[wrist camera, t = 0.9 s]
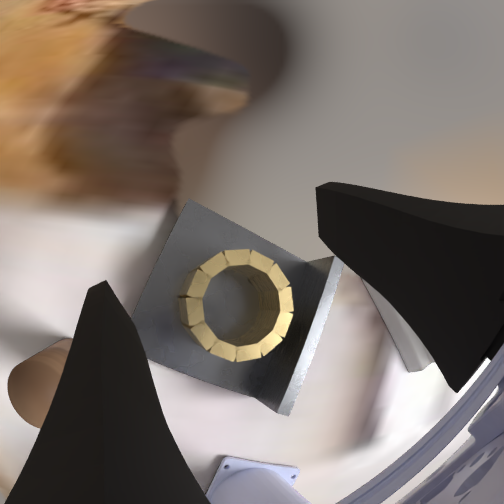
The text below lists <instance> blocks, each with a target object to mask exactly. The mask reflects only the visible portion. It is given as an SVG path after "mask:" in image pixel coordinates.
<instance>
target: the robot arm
mask: <svg viewBox="0 0 504 504" xmlns="http://www.w3.org/2000/svg"><path fill="white" fill-rule="evenodd" d="M316 201H317V216H318V230H319V231H318V233H319V237H320V239H321V240H322V241H323V242H324V243H325V244H326V245H327V247H328V248H329V249H330V250H331V251H332V252H333V253H334V254H335V255H336V256H337V257H338V258H339V259H340V260H341V261H342V262H343V263H345V264H346V265H347V266H348V267H349V268H350V269H352V270H353V271H354V272H355V273H356V274H358V275H359V276H360V277H361V278H362V279H363V280H365V281H366V282H367V283H368V284H369V285H370V286H372V287H373V288H374V289H375V290H376V291H377V292H379V293H380V294H381V295H382V296H383V297H384V298H385V299H386V300H387V301H388V302H389V303H390V304H391V305H392V306H393V307H394V309H395V310H396V311H397V312H398V313H399V314H400V315H401V316H402V318H403V319H404V320H405V321H406V322H407V324H408V325H409V326H410V327H411V329H412V330H413V331H414V332H415V334H416V335H417V336H418V338H419V339H420V340H421V342H422V343H423V345H424V346H425V347H426V349H427V350H428V352H429V353H430V355H431V356H432V358H433V359H434V361H435V362H436V364H437V366H438V367H439V369H440V371H441V372H442V374H443V376H444V378H445V380H446V381H447V383H448V385H449V387H450V388H452V389H453V390H454V391H455V392H456V393H458V392H459V391H460V390H461V388H462V387H463V386H464V385H465V384H466V383H467V382H468V380H469V379H470V378H471V377H472V376H473V374H474V373H475V372H476V371H477V370H478V368H479V367H480V366H481V365H482V363H483V362H484V361H485V359H486V358H488V359H490V360H491V362H490V363H489V365H488V366H487V367H486V368H485V370H484V371H483V372H482V374H481V375H480V376H479V377H478V379H477V380H476V381H475V382H474V383H473V385H472V386H471V387H470V388H469V389H468V391H467V392H466V393H465V394H464V395H463V396H462V397H461V399H460V400H459V401H458V402H457V403H456V404H455V405H454V406H453V407H452V408H451V410H450V411H449V412H448V413H447V414H446V415H445V416H444V417H443V418H442V419H441V420H440V421H439V422H438V423H437V424H436V425H435V426H434V427H433V428H432V429H431V430H430V431H429V432H428V433H427V434H426V435H425V436H423V437H422V438H421V439H420V440H419V441H418V442H417V443H416V444H415V445H414V446H412V447H411V448H410V449H409V450H408V451H407V452H406V453H404V454H403V455H402V456H401V457H400V458H398V459H397V460H396V461H395V462H394V463H392V464H391V465H390V466H389V467H387V468H386V469H385V470H383V471H382V472H381V473H379V474H378V475H377V476H376V477H374V478H373V479H371V480H370V481H369V482H367V483H366V484H364V485H363V486H362V487H360V488H359V489H357V490H356V491H354V492H353V493H351V494H350V495H348V496H347V497H345V498H344V499H342V500H341V501H339V502H337V503H336V504H380V503H382V502H383V501H384V500H386V499H387V498H388V497H389V496H391V495H392V494H393V493H395V492H396V491H397V490H398V489H400V488H401V487H402V486H403V485H405V484H406V483H407V482H408V481H409V480H410V479H412V478H413V477H414V476H415V475H416V474H417V473H419V472H420V471H421V470H422V469H423V468H424V467H425V466H426V465H427V464H428V463H429V462H431V461H432V460H433V459H434V458H435V457H436V456H437V455H438V454H439V453H440V452H441V451H442V450H443V449H444V448H445V447H446V446H447V445H448V444H449V443H450V442H451V441H452V440H453V438H454V437H455V436H456V435H457V434H458V433H459V432H460V431H461V430H462V429H463V428H464V426H465V425H466V424H467V423H468V422H469V421H470V419H471V418H472V417H473V416H474V415H475V414H476V412H477V411H478V410H479V409H480V407H481V406H482V405H483V404H484V402H485V401H486V400H487V398H488V397H489V396H490V395H491V393H492V392H493V390H494V389H495V388H496V386H497V385H498V387H499V391H498V392H497V394H496V395H495V396H494V397H493V398H492V399H491V400H490V401H489V402H488V403H487V404H486V405H485V406H484V407H483V408H482V410H481V411H480V412H479V413H478V414H477V416H476V417H475V418H474V420H473V421H472V423H471V424H470V426H469V427H468V432H469V433H470V434H471V436H470V438H469V439H468V440H467V441H466V442H465V443H464V444H463V445H462V446H461V447H460V448H459V449H458V450H457V451H456V452H455V453H454V454H453V455H452V456H451V457H450V458H449V459H448V460H447V461H446V462H444V463H443V464H442V465H441V466H440V467H439V468H438V469H437V470H436V471H435V472H433V473H432V474H431V475H430V476H429V477H428V478H426V479H425V480H424V481H423V482H422V483H420V484H419V485H418V486H417V487H416V488H414V489H413V490H412V491H411V492H409V493H408V494H407V495H406V496H404V497H403V498H402V499H401V500H399V501H398V502H397V503H395V504H504V205H477V204H463V203H452V202H444V201H436V200H429V199H423V198H418V197H413V196H407V195H402V194H397V193H392V192H387V191H382V190H377V189H373V188H368V187H362V186H357V185H352V184H345V183H338V182H328V183H326V184H323V185H321V186H318V187H316ZM225 465H228V467H226V468H224V466H225ZM299 473H300V470H299V469H298V468H297V467H291V466H283V465H275V464H269V463H262V462H256V461H250V460H245V459H240V458H235V457H230V456H227V457H225V458H223V460H222V462H221V464H220V466H219V468H218V470H217V472H216V475H215V477H214V479H213V481H212V483H211V485H210V487H209V489H208V491H207V493H206V495H205V494H204V492H203V491H202V489H201V488H200V486H199V484H198V483H197V481H196V479H195V478H194V476H193V474H192V472H191V471H190V469H189V467H188V465H187V463H186V462H185V460H184V458H183V456H182V454H181V452H180V450H179V448H178V446H177V444H176V442H175V440H174V438H173V436H172V434H171V432H170V430H169V428H168V425H167V423H166V420H165V417H164V415H163V412H162V409H161V405H160V402H159V399H158V396H157V392H156V389H155V386H154V382H153V379H152V375H151V371H150V368H149V364H148V360H147V357H146V353H145V350H144V348H143V345H142V342H141V339H140V337H139V334H138V332H137V329H136V326H135V324H134V323H133V321H132V320H131V318H130V317H129V315H128V314H127V312H126V311H125V309H124V308H123V306H122V305H121V303H120V301H119V300H118V298H117V297H116V295H115V294H114V292H113V290H112V289H111V287H110V285H109V284H108V282H107V281H106V280H105V281H103V282H101V283H99V284H97V285H95V286H93V287H90V288H89V289H88V292H87V295H86V298H85V301H84V304H83V307H82V310H81V314H80V317H79V320H78V324H77V327H76V330H75V334H74V337H73V341H72V344H71V347H70V350H69V353H68V356H67V359H66V362H65V365H64V369H63V372H62V375H61V378H60V381H59V384H58V386H57V389H56V392H55V395H54V397H53V400H52V403H51V405H50V408H49V411H48V413H47V415H46V418H45V420H44V422H43V425H42V427H41V429H40V432H39V434H38V437H37V439H36V442H35V444H34V446H33V448H32V450H31V453H30V455H29V457H28V459H27V461H26V463H25V465H24V467H23V469H22V471H21V474H20V475H19V477H18V479H17V481H16V483H15V485H14V487H13V489H12V490H11V492H10V494H9V496H8V498H7V500H6V501H5V504H311V503H310V502H309V501H308V500H307V499H306V498H304V497H303V496H302V495H301V494H300V493H299V492H298V491H297V490H295V489H294V488H293V487H292V486H293V484H294V482H295V480H296V479H297V477H298V475H299ZM292 475H293V476H292ZM291 476H292V477H291Z"/></svg>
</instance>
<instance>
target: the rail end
mask: <svg viewBox="0 0 504 504" xmlns="http://www.w3.org/2000/svg"><path fill="white" fill-rule="evenodd" d="M72 341H73V339H71V338H67V339H62V340H60V341H58V342H57V343H55V344H53V345H51V346H50V347H48V348H46V349H44V350H43V351H41V352H39V353H37V354H36V355H34V356H32V357H30V358H29V359H27V360H25V361H23V362H22V363H20V364H18V365H17V366H16V367H14V368H13V370H12V371H11V373H10V375H9V378H8V394H9V398H10V401H11V403H12V405H13V407H14V409H15V410H16V412H17V413H18V414H19V415H20V416H21V417H22V418H23V419H24V420H25V421H26V422H28V423H29V424H31V425H33V426H35V427H37V428H40V429H41V427H42V425H43V422H44V420H45V418H46V415H47V413H48V411H49V408H50V405H51V403H52V400H53V397H54V395H55V392H56V389H57V386H58V384H59V381H60V378H61V375H62V372H63V369H64V365H65V362H66V359H67V356H68V353H69V350H70V347H71V344H72Z"/></svg>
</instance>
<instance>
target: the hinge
mask: <svg viewBox="0 0 504 504" xmlns="http://www.w3.org/2000/svg"><path fill="white" fill-rule="evenodd" d="M361 279H362V278H361ZM362 281H363V282H364V284H365V286H366V288H367V290H368V292H369V293H370V295H371V297H372V299H373V301H374V303H375V305H376V307H377V308H378V310H379V312H380V314H381V316H382V318H383V320H384V322H385V324H386V326H387V328H388V330H389V332H390V334H391V336H392V338H393V340H394V342H395V344H396V346H397V348H398V350H399V352H400V354H401V356H402V358H403V360H404V363H405V365H406V367H407V369H408V371H409V373H410V372H417V371H422V370H423V369H425V368H426V367H427V366H428V365H429V364H431V363H433V362H435V361H434V359H433V358H432V356H431V355H430V353H429V352H428V350H427V349H426V347H425V346H424V345H423V343H422V342H421V340H420V339H419V338H418V336H417V335H416V334H415V332H414V331H413V330H412V329H411V327H410V326H409V325H408V324H407V322H406V321H405V320H404V319H403V318H402V316H401V315H400V314H399V313H398V312H397V311H396V310H395V309H394V307H393V306H392V305H391V304H390V303H389V302H388V301H387V300H386V299H385V298H384V297H383V296H382V295H381V294H380V293H379V292H377V291H376V290H375V289H374V288H373V287H372V286H370V285H369V284H368V283H367V282H366V281H365V280H363V279H362Z"/></svg>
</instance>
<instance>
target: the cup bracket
mask: <svg viewBox="0 0 504 504" xmlns="http://www.w3.org/2000/svg"><path fill="white" fill-rule="evenodd" d="M343 266H344V263H343V262H342V261H341V260H340V259H339V258H338V257H337V256H331V257H327V258H322V259H318V260H314V261H309V262H306V261H304V260H302V259H300V258H298V257H297V256H295V255H293V254H291V253H289V252H288V251H286V250H284V249H282V248H280V247H278V246H276V245H275V244H273V243H271V242H269V241H267V240H265V239H264V238H262V237H260V236H258V235H256V234H254V233H253V232H251V231H249V230H247V229H245V228H243V227H241V226H240V225H238V224H236V223H234V222H232V221H230V220H228V219H227V218H225V217H223V216H221V215H219V214H217V213H215V212H213V211H212V210H209V209H208V208H206V207H204V206H202V205H200V204H198V203H196V202H194V201H193V200H191V199H188V201H187V203H186V204H185V206H184V208H183V210H182V212H181V214H180V216H179V218H178V220H177V222H176V224H175V226H174V228H173V230H172V232H171V234H170V236H169V238H168V240H167V242H166V244H165V246H164V248H163V250H162V252H161V254H160V256H159V258H158V260H157V263H156V265H155V267H154V269H153V271H152V273H151V275H150V277H149V280H148V282H147V284H146V286H145V288H144V291H143V293H142V295H141V297H140V300H139V302H138V304H137V306H136V309H135V311H134V313H133V316H132V318H131V320H132V321H133V323H134V324H135V326H136V329H137V332H138V334H139V337H140V339H141V342H142V345H143V348H144V350H145V353H146V357H147V359H150V360H152V361H154V362H157V363H159V364H162V365H164V366H166V367H169V368H171V369H174V370H176V371H179V372H182V373H184V374H187V375H189V376H192V377H195V378H197V379H200V380H203V381H206V382H208V383H211V384H214V385H217V386H220V387H223V388H226V389H229V390H232V391H235V392H238V393H241V394H245V395H248V396H251V397H254V398H256V399H257V400H259V401H260V402H262V403H263V404H264V405H266V406H267V407H269V408H270V409H272V410H273V411H274V412H276V413H278V414H282V415H286V416H289V414H290V412H291V410H292V407H293V405H294V403H295V400H296V398H297V395H298V393H299V391H300V388H301V386H302V383H303V381H304V378H305V376H306V373H307V371H308V368H309V365H310V363H311V360H312V357H313V355H314V352H315V349H316V347H317V344H318V341H319V338H320V336H321V333H322V330H323V327H324V324H325V321H326V319H327V316H328V313H329V310H330V307H331V304H332V301H333V298H334V295H335V291H336V288H337V285H338V282H339V279H340V276H341V272H342V269H343Z"/></svg>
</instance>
